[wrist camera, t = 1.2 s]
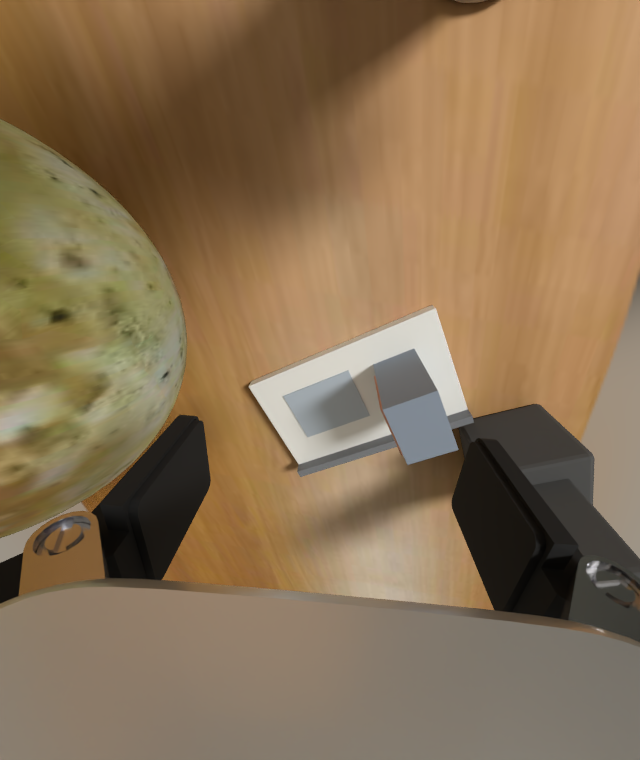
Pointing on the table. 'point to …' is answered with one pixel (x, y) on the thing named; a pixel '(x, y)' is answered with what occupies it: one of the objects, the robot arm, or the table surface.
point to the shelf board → (354, 393)
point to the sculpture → (555, 475)
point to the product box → (413, 408)
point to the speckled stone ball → (76, 335)
